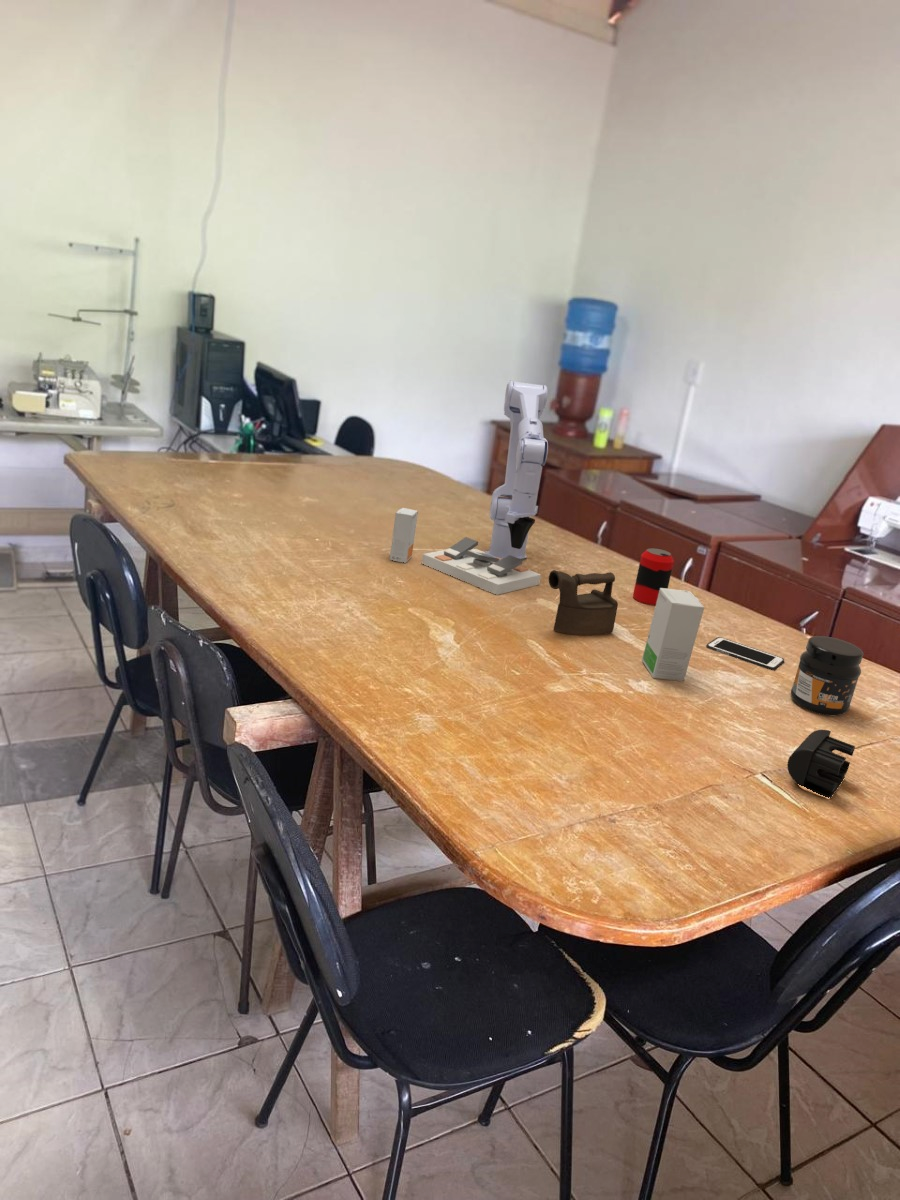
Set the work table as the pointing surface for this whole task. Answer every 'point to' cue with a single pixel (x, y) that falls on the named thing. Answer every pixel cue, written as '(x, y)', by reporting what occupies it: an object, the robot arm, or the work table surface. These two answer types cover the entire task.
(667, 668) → the skincare box
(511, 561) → the block
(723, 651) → the cell phone
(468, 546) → the block
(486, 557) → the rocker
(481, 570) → the console
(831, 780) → the end cap
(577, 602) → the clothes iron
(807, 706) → the supplement container
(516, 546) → the robot arm
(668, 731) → the work table surface
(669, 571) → the soda can
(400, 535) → the skincare box
